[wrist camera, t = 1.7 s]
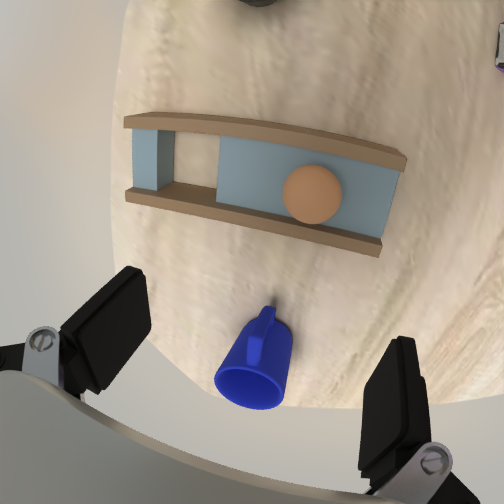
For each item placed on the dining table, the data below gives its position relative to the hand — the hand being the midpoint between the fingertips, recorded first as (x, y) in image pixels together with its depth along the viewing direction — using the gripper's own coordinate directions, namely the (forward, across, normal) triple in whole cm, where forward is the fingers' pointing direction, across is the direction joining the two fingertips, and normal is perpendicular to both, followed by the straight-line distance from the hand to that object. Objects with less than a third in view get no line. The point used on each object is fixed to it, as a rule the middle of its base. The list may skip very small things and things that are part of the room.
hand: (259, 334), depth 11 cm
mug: (+22, +2, +20) cm, 30 cm away
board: (+22, +6, 0) cm, 23 cm away
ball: (+16, 0, 0) cm, 16 cm away
